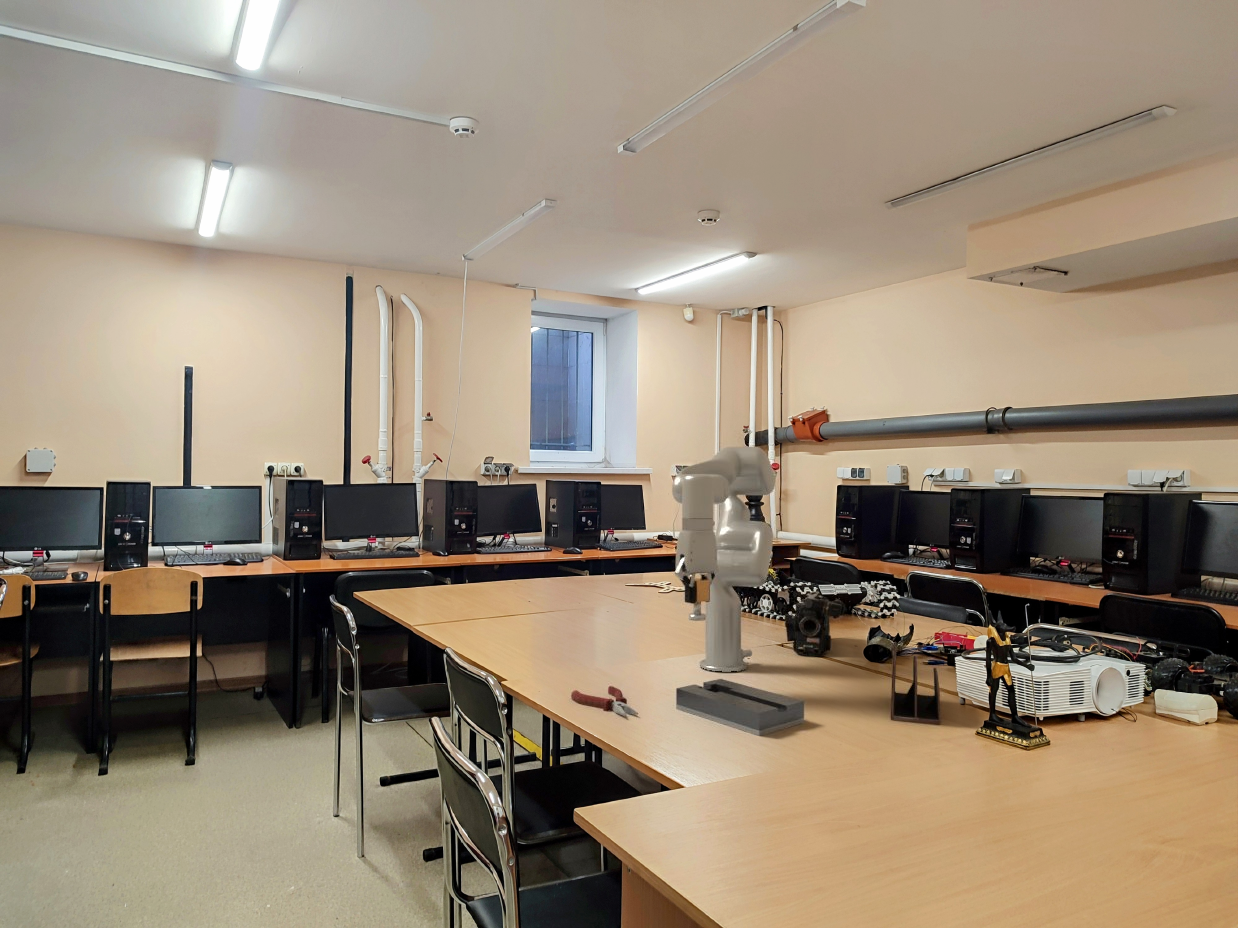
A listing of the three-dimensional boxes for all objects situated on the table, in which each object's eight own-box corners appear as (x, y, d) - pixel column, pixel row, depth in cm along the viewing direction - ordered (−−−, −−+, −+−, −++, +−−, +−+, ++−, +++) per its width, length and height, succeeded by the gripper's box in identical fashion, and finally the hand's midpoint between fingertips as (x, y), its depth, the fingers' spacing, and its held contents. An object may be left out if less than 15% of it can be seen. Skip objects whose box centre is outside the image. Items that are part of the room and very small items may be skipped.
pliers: (607, 723, 169) (607, 711, 169) (568, 700, 187) (569, 689, 187) (655, 717, 175) (655, 704, 175) (613, 695, 192) (613, 684, 192)
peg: (697, 617, 198) (697, 578, 198) (709, 619, 195) (709, 579, 195) (685, 618, 195) (685, 579, 195) (696, 621, 192) (697, 581, 192)
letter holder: (890, 721, 172) (890, 654, 172) (891, 697, 190) (891, 637, 191) (941, 726, 168) (940, 657, 169) (937, 701, 187) (937, 640, 187)
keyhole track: (720, 698, 188) (720, 678, 188) (804, 722, 169) (804, 700, 170) (676, 708, 179) (676, 688, 179) (759, 735, 161) (759, 712, 161)
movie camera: (845, 659, 226) (842, 595, 227) (781, 656, 233) (778, 595, 234) (858, 643, 254) (855, 587, 256) (801, 641, 261) (798, 586, 263)
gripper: (711, 524, 204) (710, 597, 203) (661, 525, 193) (660, 603, 193) (733, 525, 198) (732, 601, 197) (682, 527, 187) (682, 607, 187)
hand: (697, 601), depth 195 cm, fingers closed on peg, 4 cm apart
